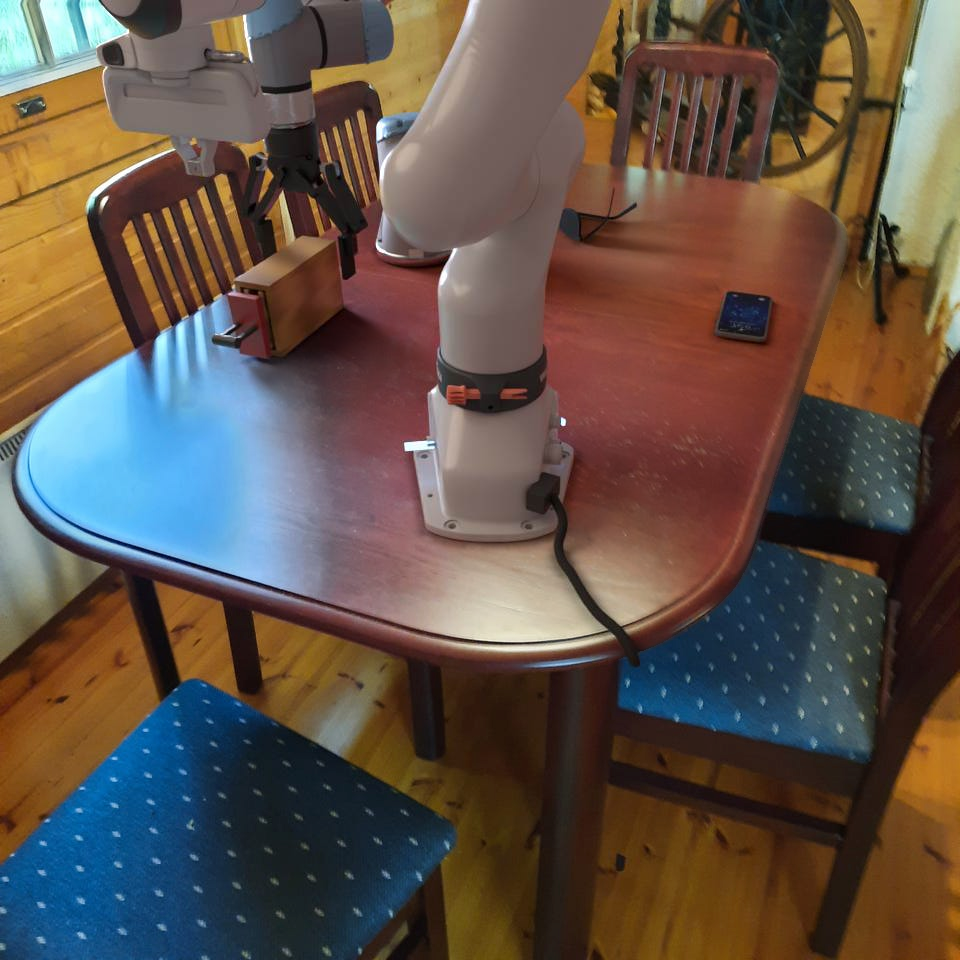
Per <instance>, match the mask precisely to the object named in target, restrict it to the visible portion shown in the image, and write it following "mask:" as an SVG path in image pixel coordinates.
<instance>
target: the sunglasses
mask: <svg viewBox="0 0 960 960" xmlns="http://www.w3.org/2000/svg"><path fill="white" fill-rule="evenodd" d="M615 189H616V187H613V188H612V193H611V199H610V203H609V208H608V213H607V215H606V216H605V215H598V214H592V213H587V212H580V211H576V210H575V209H573V208H571V207H564V208H563V212H562V216H561V219H560V223H559V227H558V229H560V230H561V232H562V233H563V234H565V235H566V236H567V237H569V238H570V239H573V240H574V241H577V242H583V241H586V240H588V239H589V238H591V237H592V236H594V234H596V233H597V232H598V231H599V230H600V229H601V228H602V227H603V226H604V225H605V224H606V223H607V221H614V220H618V219H621V218H622V217H624V216H625V215H627V214H628V213H630V212H631V211H633V210H634V209H636V208H637V207H638V203H637V202H634V203H633V204H631V205H630V206H629V207H627V208H626V209H624V210H623V211H622V212H620V213H619V214H617V215H614V216H610V214H611V211H612V207H613V200H614V196H615ZM581 217H586V218H591V219H598V220H603V221H602V222H601V223H600V224H599V225H597V226H596V227H595V228H594V229H593V230H591V231H590V232H589V233H587V234H586V235H584V236H583V235H582V218H581Z"/></svg>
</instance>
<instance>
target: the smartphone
mask: <svg viewBox="0 0 960 960" xmlns="http://www.w3.org/2000/svg"><path fill="white" fill-rule="evenodd" d="M773 302H774V301H773V298H772V297H771V296H769V295H763V294H756V293H749V292H743V291H734V290H729V291H726V292H725V293H724V295H723V299H722V301H721V306H720V310H719V312H718V317H717V319H716V322H715V328H714V334H715V335H716V336H717V337H718V338H719V337H720V338H725V339H732V340H739V341H747V342H754V343H764V342H765V341H767V338H768V333H769V328H770V318H771V313H772V307H773Z"/></svg>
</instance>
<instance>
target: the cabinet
mask: <svg viewBox="0 0 960 960" xmlns="http://www.w3.org/2000/svg"><path fill="white" fill-rule="evenodd" d="M340 271H341V270H340V264H339V256H338V247H337V241H336V240H335V239H330V238H322V237H315V236H307V235H301V236H299V237H298V238H296V239H294V240H293V241H292V242H290V243H289V244H287V245H286V246H284V247H283V248H281V249H280V250H277V252H276V253H275V254H273V255H272V256H270V257H269V258H267V259H266V260H263V261H261V262H260V263H258V264H256V265H255V266H253V267H252V268H250V269H248V270H247V271H246V272H244V273H243V274H241V275H239V276H237V277H236V278H234V279H233V285H234V288H235V292H239V293H244V289H245V288H251V289H257V290H263V291H265V292H266V298H267V303H268V308H269V314H270V319H271V325H272V330H273V335H274V341H275V346H274V347H273V348H271V352H272V357H279V358H284V356H286V355H287V354H289V353H290V352H291V351H292V350H293V349H294V348H296V347H298V345H299V344H301V343H302V342H303V341H304V340H305V339H307V338H308V337H309V336H311V335H312V334H313V333H314V332H315V331H317V330H318V329H319V328H320V327H322V326H323V325H324V324H325V323H326V322H328V321H329V320H330V319H331V318H333V317H334V316H335V315H336V314H337V313H339V312H340V311H341V310H342V309H343V308H344V307H345V303H344V295H343V287H342V280H341V279H342V277H341V272H340Z"/></svg>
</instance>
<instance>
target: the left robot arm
mask: <svg viewBox="0 0 960 960" xmlns="http://www.w3.org/2000/svg"><path fill="white" fill-rule="evenodd" d="M394 1H395V0H266V2H265V4H264V5H263V6H262V7H261V8H260V9H258V10H255V11H253V12H251V13H249V14H247V15H244V16H242V17H243V25H244V38H245V40H246V46H247V50H248V56H249V59H250V60H251V61H252V63H253V64H255V66H256V68H257V72H258V78H259V84H260V87H261V90H262V93H263V96H264V99H265V103H266V107H267V111H268V115H269V119H270V125H271V129H270V132H269V134H268V136H267V137H266V138H264V139H262V141H263V142H262V143H263V148H264V151H259V152H256V153H254V154H252V155H250V156H249V157H248V171H249V172H248V176H247V179H246V183H245V188H244V192H243V195H242V196H243V197H242V200H241V204H240V207H239V208H240V209H239V212H238V213H239V216H240V217H241V218H243V219H245V218H247V219H248V220H250V222H251V223H252V224H253V229H254V235H255V240H256V242H257V244H260V248H261V253H262V259H263V261H264V260H266V259H267V258H269V257H270V256H272V255H273V254H275V253H276V252H278V247H277V242H276V235H275V230H274V229H275V228H274V223H273V219H270V218H268V217H269V216H270V215H269V214H270V212H271V211H272V209H273V207H274V205H275V204H276V203H277V200H278V199H279V197H280V196H281V194H282V193H283V191H284V192H286V193H289V192H290V193H292V192H296V193H299V194H302V195H303V194H306V193H307V195H308V196H309V197H310V198H311V199H314V200H315V201H316V203H317V204H318V206H319V207H320V208H321V210H322V211H323V212H324V213H325V214H326V215H327V217H328V218H329V219H330V221H332V223H333V224H334V226H335V227H336V228H337V230H339V232H340V234H339V235H337V237H336V238H337V244H338V253H339V260H340V269H341V270H340V271H341V279H342V280H344V281H348V280H349V279H351V278H352V277H353V276H355V275H356V274H357V268H356V260H355V256H356V255H358V253H359V245H358V235H357V234H360V233H361V232H363V231H364V230H365V229H367V228H368V227H369V223H368V220H367V219H366V216H365V215H364V213H363V211H362V209H361V207H360V205H359V203H358V201H357V200H356V197H355V195H354V193H353V192H352V189H351V188H350V186H349V184H348V182H347V179H346V177H345V176H344V170H343V165H342V162H341V161H340V160H338V159H335V160H333V161H331V162H322V160H321V158H320V147H321V146H320V136H319V129H318V123H317V122H316V120H314V119H315V117H316V107H315V100H314V92H313V80H312V71H319V70H322V69H323V70H324V69H330V68H340V67H348V66H357V65H370V64H371V63H377V62H381V61H384V60H387V59H388V58H389V57H390V56H391V54H392V51H393V49H394V44H395V33H394V23H393V19H392V17H391V13H390V12H389V10H388V8H387V6H388V5H389V4H391V3H392V2H394ZM420 111H421V110H419V111H408V112H402V113H396V114H392V115H391V114H390V115H387V116H384V117H382V118H381V119H380V120H379V121H378V122H377V124H376V140H375V144H376V147H377V158H378V169H379V173H380V172H381V168H382V165H383V163H384V161H385V159H386V157H387V156H388V155H389V153H390V152H391V151H392V150H393V149H394V148H395V147H396V145H397V144H398V143H399V142H400V141H401V140H402V138H403V137H404V136H405V134H406V133H407V132H408V130H409V129H410V128H411V126H412V125H413V123H414V121H415V120H416V118H417V116H418V115H419V113H420ZM264 152H265V153H266V154H267V155H266V154H265V153H264ZM267 170H269V172H270V173H271V175H272V176H273V177H272V178H271V180H270V181H269V183H268V184H267V189H266V191H265V192H264V193H263V195H262V197H261V199H260V196H261V193H262V188H263V184H264V182H265V181H264V180H265V176H266V173H267ZM322 174H323V176H322ZM326 180H327V182H326ZM316 186H317V187H316ZM329 188H330V189H329ZM259 200H260V201H259ZM266 218H267V219H266ZM375 248H376V255H377V257H378V258H379V259H381V260H382V261H384V262H385V263H388V264H391V265H395V266H400V267H410V268H411V267H413V268H414V267H415V268H416V267H417V268H418V267H420V268H421V267H431V266H436V265H441V264H444V263H447V261H448V260H449V257H450V255H451V253H452V250H453V249H451V250H446V251H440V252H426V251H422V250H419V249H417V248H415V247H413V246H411V245H410V244H408V243H407V242H406V241H404V240H403V239H402V238H401V237H400V236H399V235H398V234H397V232H396V231H395V230H394V229H393V227H392V226H391V224H390V222H389V221H388V219H387V217H386V215H385V212H384V210H383V209H382V212H381V218H380V221H379V227H378V231H377V236H376V240H375Z"/></svg>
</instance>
